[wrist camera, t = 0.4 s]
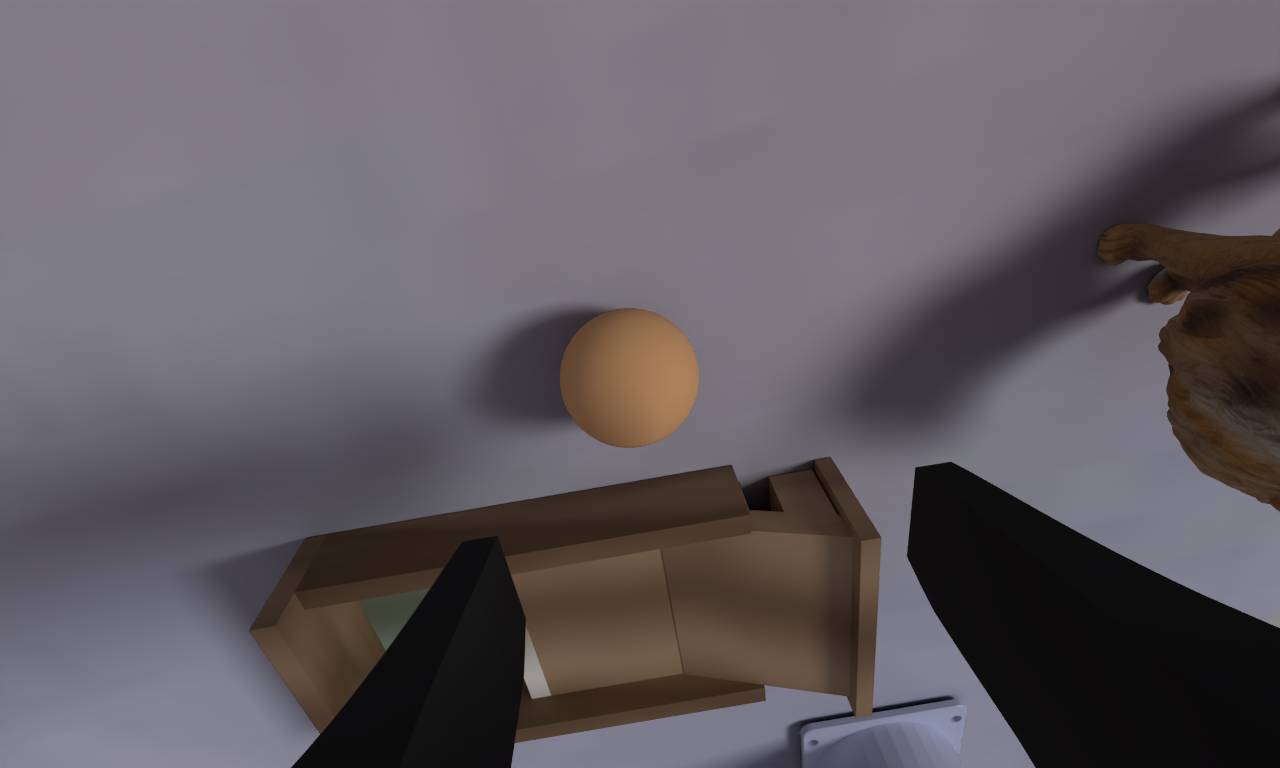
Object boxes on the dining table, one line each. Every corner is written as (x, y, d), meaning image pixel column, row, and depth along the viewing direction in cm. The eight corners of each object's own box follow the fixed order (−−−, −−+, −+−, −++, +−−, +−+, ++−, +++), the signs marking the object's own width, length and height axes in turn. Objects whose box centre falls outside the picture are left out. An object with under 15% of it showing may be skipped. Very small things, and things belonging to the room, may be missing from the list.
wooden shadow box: (831, 628, 26) (871, 722, 22) (397, 702, 26) (365, 807, 22) (830, 448, 21) (881, 527, 17) (305, 538, 21) (245, 636, 18)
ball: (694, 392, 20) (717, 462, 16) (576, 413, 20) (573, 487, 16) (680, 278, 18) (702, 329, 14) (549, 301, 18) (539, 357, 14)
